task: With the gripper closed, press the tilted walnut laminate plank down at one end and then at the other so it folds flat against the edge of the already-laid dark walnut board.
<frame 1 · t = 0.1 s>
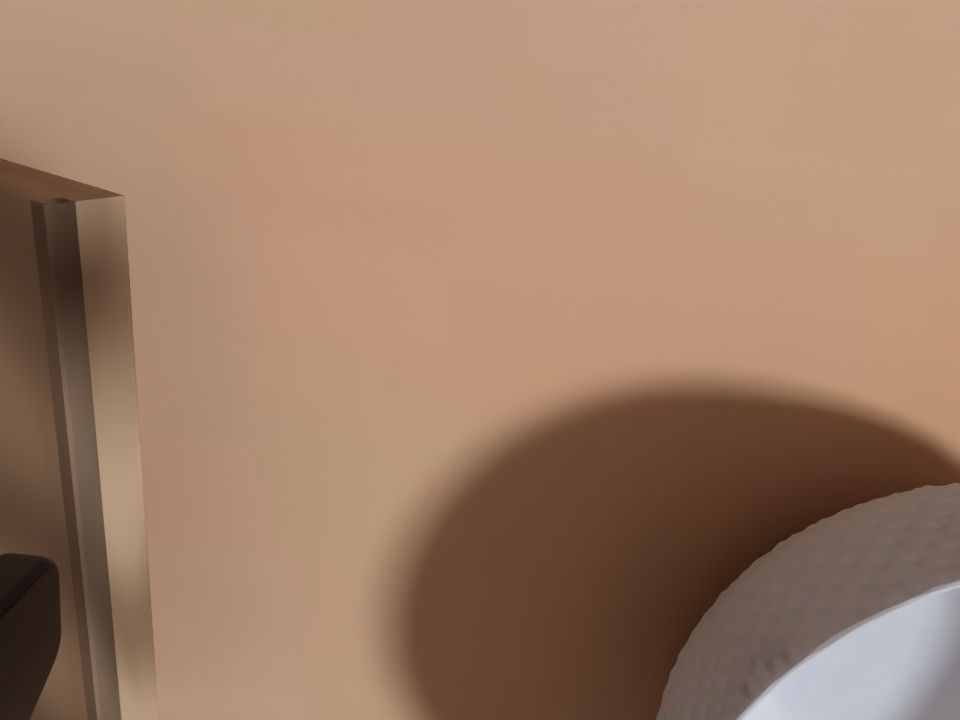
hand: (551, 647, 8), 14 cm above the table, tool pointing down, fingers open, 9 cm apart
cereal bowl: (865, 631, 27), on the table
plank: (26, 518, 20), point 3 cm above the table, hinge at 35.0°
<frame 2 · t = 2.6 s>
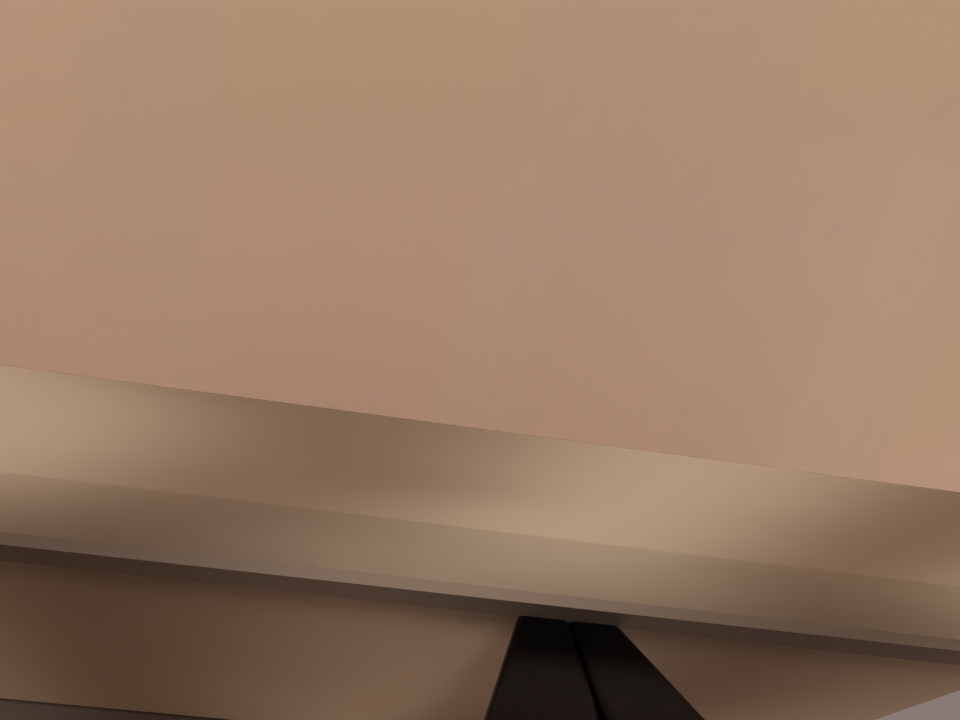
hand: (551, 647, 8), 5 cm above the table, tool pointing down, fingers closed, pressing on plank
plank: (181, 596, 10), point 3 cm above the table, hinge at 32.7°, touching gripper
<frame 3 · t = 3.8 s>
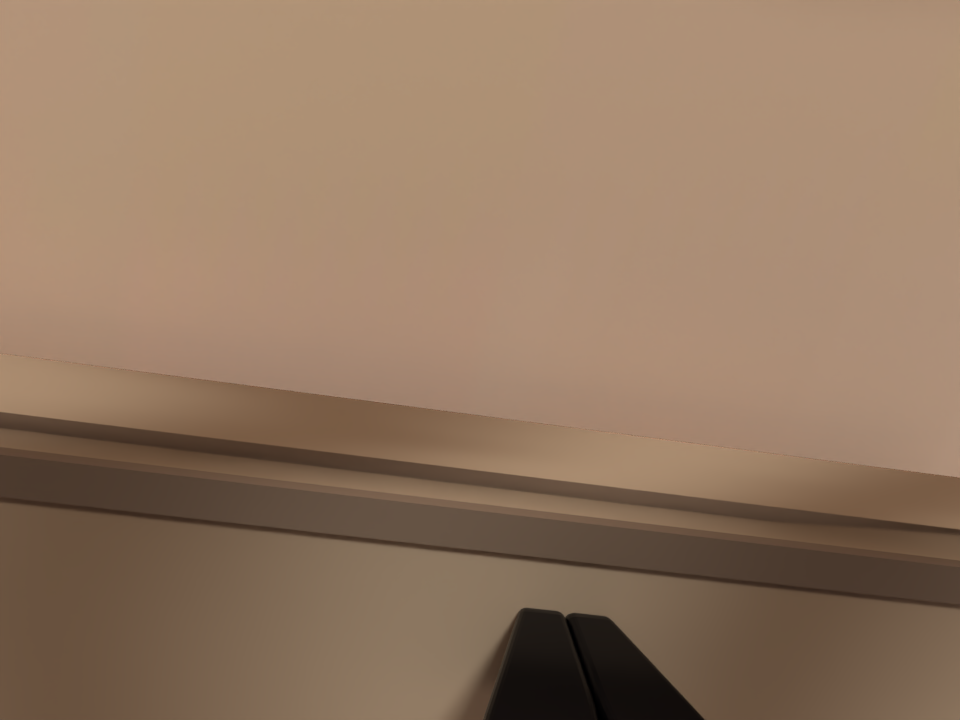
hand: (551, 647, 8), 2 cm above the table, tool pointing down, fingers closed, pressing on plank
plank: (143, 703, 8), point 1 cm above the table, hinge at 3.9°, touching gripper
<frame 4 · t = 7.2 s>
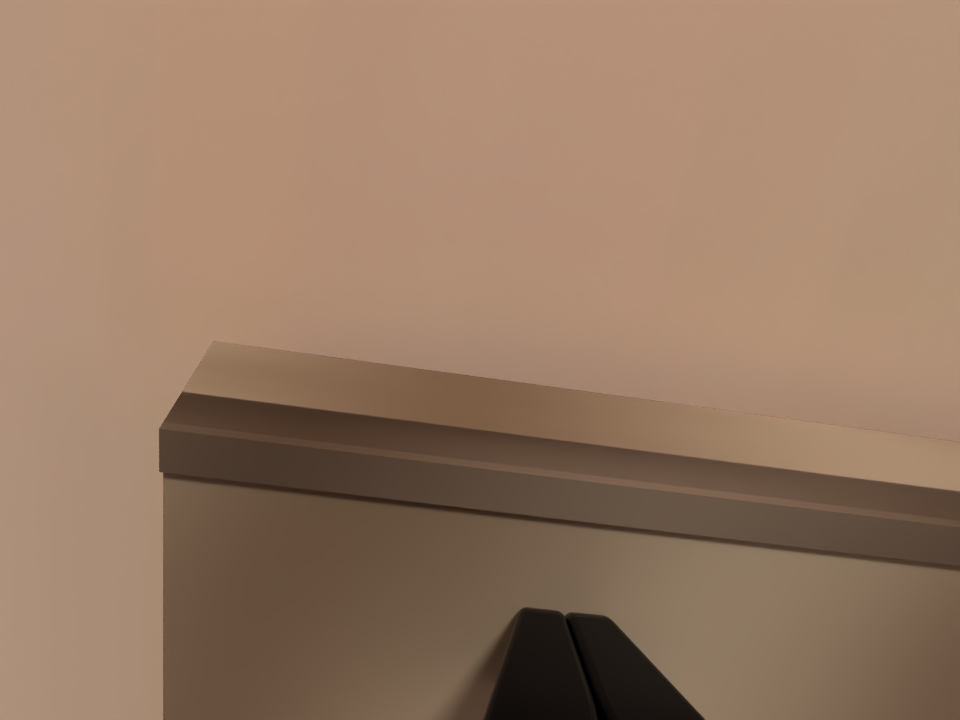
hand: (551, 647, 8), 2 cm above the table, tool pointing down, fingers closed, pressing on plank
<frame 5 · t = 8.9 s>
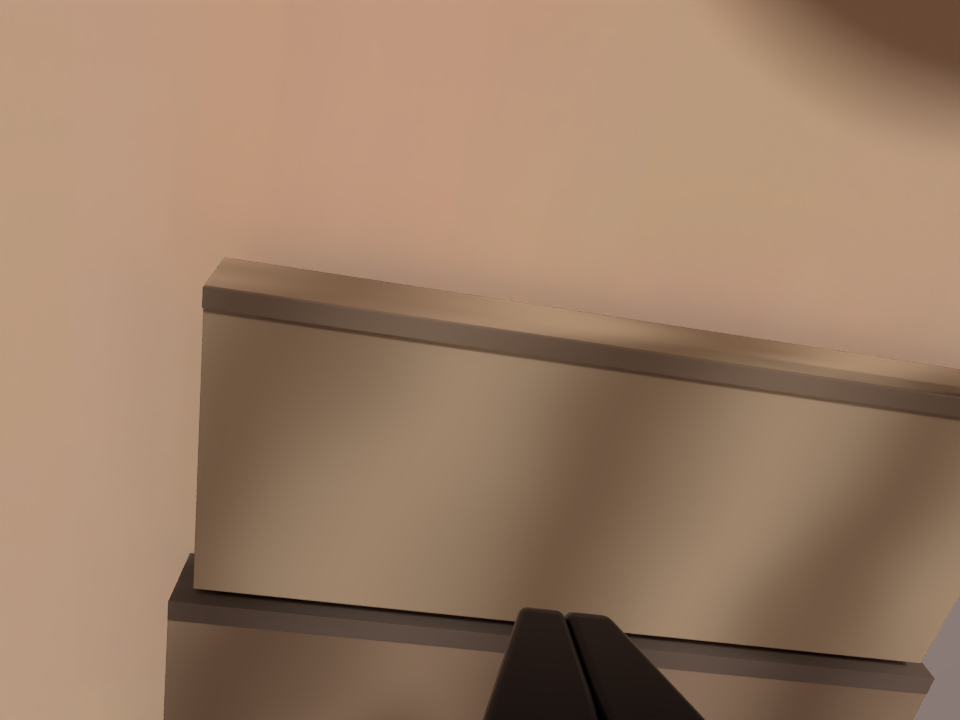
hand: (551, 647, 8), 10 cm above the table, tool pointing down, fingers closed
plank: (610, 483, 17), point 1 cm above the table, hinge at 3.7°
laid board: (534, 700, 21), on the table
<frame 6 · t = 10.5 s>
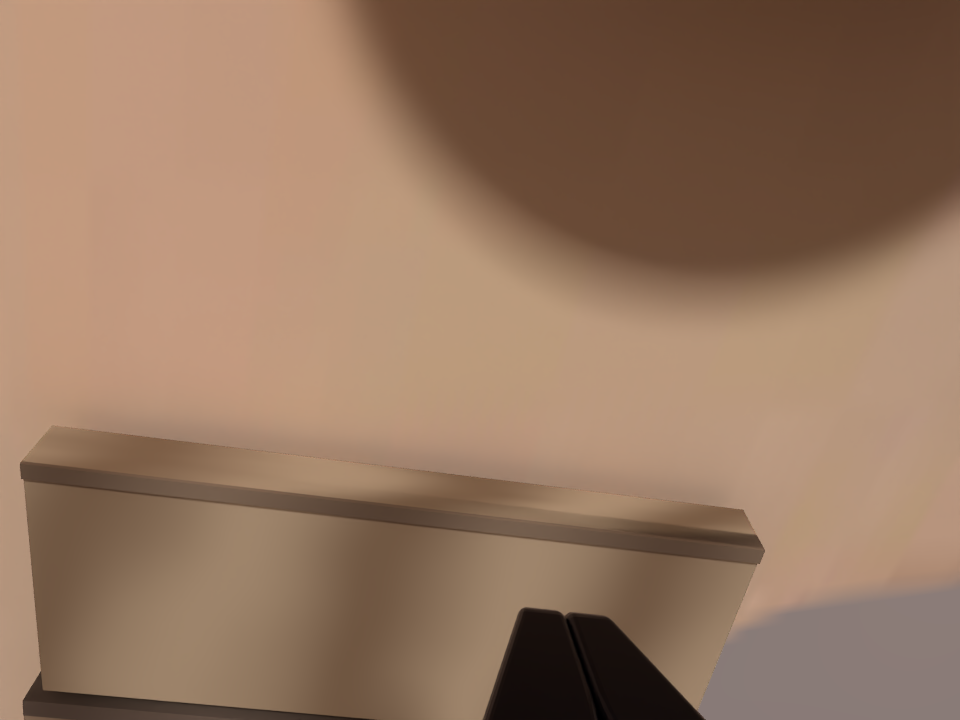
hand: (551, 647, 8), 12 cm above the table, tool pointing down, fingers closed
plank: (394, 601, 21), point 1 cm above the table, hinge at 3.7°
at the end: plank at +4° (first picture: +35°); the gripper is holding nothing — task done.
